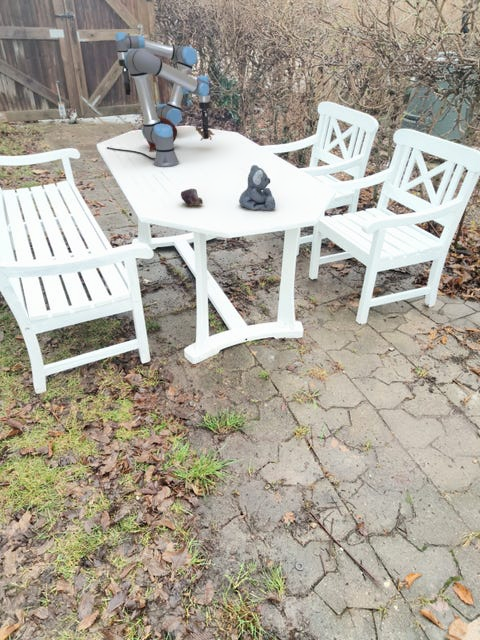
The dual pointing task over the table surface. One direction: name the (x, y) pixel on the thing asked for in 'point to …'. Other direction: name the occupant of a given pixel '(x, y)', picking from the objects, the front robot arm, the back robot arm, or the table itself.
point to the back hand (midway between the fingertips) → (128, 93)
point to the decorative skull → (166, 121)
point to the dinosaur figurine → (203, 132)
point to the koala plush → (257, 191)
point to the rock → (191, 197)
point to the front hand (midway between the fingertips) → (205, 137)
